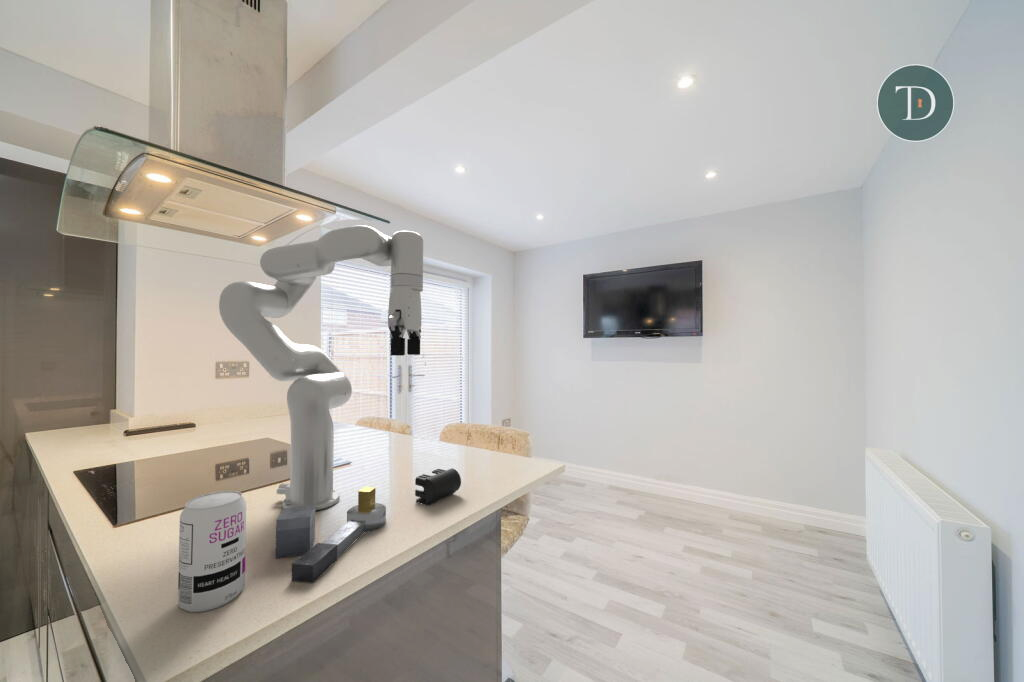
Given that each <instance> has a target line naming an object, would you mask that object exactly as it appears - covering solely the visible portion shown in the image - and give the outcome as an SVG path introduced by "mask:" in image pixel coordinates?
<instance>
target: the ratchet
mask: <svg viewBox="0 0 1024 682" xmlns="http://www.w3.org/2000/svg"><path fill="white" fill-rule="evenodd" d="M357 499H358V501H357V504H358V505H357V504H356V505H355V506H352V507H350V508H348V509H347V512H346V523H345V524H344V525H342V526H341V527H340V528H339V529H337V530H336V531H335V532H334V533H333V534H332V535H330V536H329V537H327V538H326V539H325V540H324V541H323V542H318V543H316V544H314V545H313V546H312V548H311V549H310V550H308V551H307V552H306V553H305V554H303V555H300V557H299V558H297V559H296V560H294V561H293V562H292V563H291V582H301V583H309V584H313V583H315V582H316V581H317V580H318V579H319V578H320V577H321V576H322V575H323V574H324V573H326V571H327V570H328V569H330V567H331V566H332V565H334V564H335V561H336V562H337V561H338V558H339V557H340V556H341V555H343V553H345V552H346V551H345V550H346V549H347V548H348V547H349V546H350V545H351V544H352V543H353V542H354V541H355V540H356V539H357V540H359V538H361V537H362V536H363V535H364V534H365V533H369V532H373V531H376V530H378V529H380V528H382V527H383V526H385V524H386V523H385V522H386V521H387V519H386V518H387V506H386V505H385V504H384V503H379V502H376V487H374V486H373V487H372V486H371V487H370V486H363V487H362V488H361V489H359V490H358V496H357ZM368 531H369V532H368ZM364 532H365V533H364ZM363 533H364V534H363ZM362 534H363V535H362ZM361 535H362V536H361ZM360 536H361V537H360ZM357 540H356V541H357ZM356 541H355V542H356ZM355 542H354V543H355ZM354 543H353V544H354ZM353 544H352V545H353ZM352 545H351V546H352ZM351 546H350V547H351ZM350 547H349V548H350ZM349 548H348V549H349ZM348 549H347V550H348ZM344 551H345V552H344Z"/></svg>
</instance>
